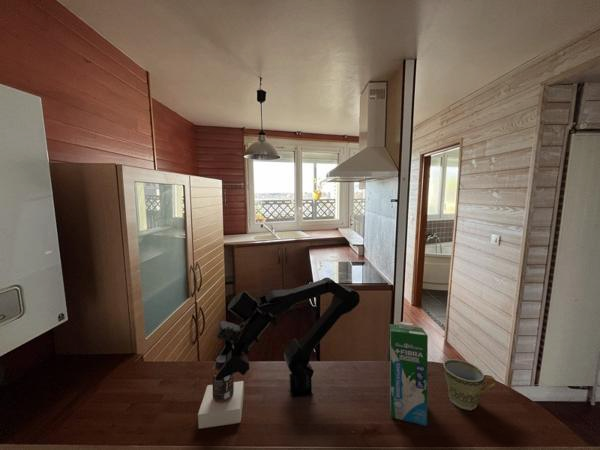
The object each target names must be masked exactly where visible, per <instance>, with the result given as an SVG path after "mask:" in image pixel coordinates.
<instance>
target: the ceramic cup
mask: <svg viewBox="0 0 600 450" xmlns="http://www.w3.org/2000/svg"><path fill="white" fill-rule="evenodd" d="M442 366H443V371H444V376H445V379H446V386H447V391H448V397H449V399H450V402H451V404H454V405H455V406H457V407H458V408H459V409H464V410H466V411H467V410H468V411H472V410H474V409H476V408H477V406H478V402H479V397H480V394H481V393H483V392H484V391H486V390H488V389H489V388H493V387H494V386H496V384H497V383H496V382H497V381H496V379H495V378H494V376H492V375H489V374H484V372H483V371H482V370H481V369H480V368H479V367H478V366H476V365H474V364H473V363H470V362H469V361H465V360H462V359H456V358H451V359H447V360H445V361H443V365H442ZM486 380H493V383H491V384H489V385H486V386H485V387H483V384H484V382H485V381H486Z"/></svg>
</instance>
